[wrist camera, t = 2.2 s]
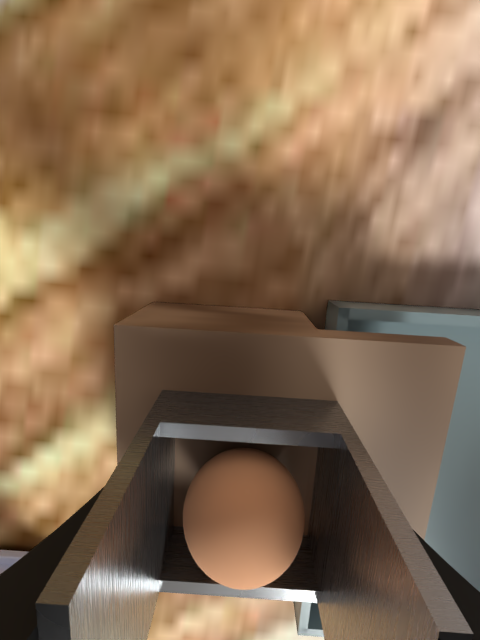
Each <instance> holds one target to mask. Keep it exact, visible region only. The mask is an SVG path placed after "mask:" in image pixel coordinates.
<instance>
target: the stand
mask: <svg viewBox="0 0 480 640" xmlns="http://www.w3.org/2000/svg"><path fill="white" fill-rule="evenodd" d="M465 350H466V346H464V345H462V344H459V343H457V342H455V341H453V340H451V339H448V338H446V337H434V336H418V335H402V334H386V333H370V332H353V331H337V330H321V329H317V328H316V327H315V326H314V325H313V324H312V323H311V321H310V320H309V319H308V318H307V317H306V315H305V314H304V313H303V312H302V311H293V310H276V309H260V308H244V307H227V306H211V305H195V304H179V303H162V302H152V303H150V304H149V305H147V306H145V307H144V308H142V309H140V310H138V311H137V312H135V313H133V314H132V315H130V316H128V317H126V318H125V319H123V320H121V321H119V322H118V323H116V324H114V351H115V389H116V428H117V465H118V463H119V462H120V460H121V458H122V457H123V455H124V453H125V452H126V450H127V448H128V447H129V445H130V443H131V442H132V440H133V438H134V437H135V435H136V433H137V432H138V430H139V428H140V427H141V425H142V423H143V422H144V420H145V418H146V417H147V415H148V413H149V412H150V410H151V408H152V407H153V405H154V403H155V401H156V400H157V398H158V396H159V395H160V393H161V391H162V390H173V391H189V392H205V393H220V394H236V395H252V396H267V397H283V398H299V399H314V400H330V401H338V403H339V404H340V406H341V408H342V409H343V411H344V413H345V414H346V416H347V418H348V420H349V421H350V423H351V425H352V426H353V428H354V430H355V432H356V433H357V435H358V437H359V438H360V440H361V442H362V444H363V445H364V447H365V449H366V450H367V452H368V454H369V456H370V457H371V459H372V461H373V462H374V464H375V466H376V468H377V469H378V471H379V473H380V474H381V476H382V478H383V479H384V481H385V483H386V485H387V486H388V488H389V490H390V491H391V493H392V495H393V497H394V498H395V500H396V502H397V503H398V505H399V507H400V509H401V510H402V512H403V514H404V515H405V517H406V519H407V521H408V522H409V524H410V526H411V527H412V529H413V530H414V531H415V532H416V533H417V534H418V535H419V536H420V537H421V538H422V539H423V540H424V539H425V535H426V530H427V525H428V521H429V516H430V512H431V507H432V502H433V498H434V493H435V488H436V484H437V479H438V475H439V470H440V465H441V461H442V456H443V452H444V447H445V442H446V438H447V433H448V429H449V424H450V419H451V415H452V410H453V406H454V401H455V396H456V392H457V387H458V382H459V378H460V373H461V369H462V364H463V359H464V355H465ZM235 448H252V449H257V450H260V451H263V452H266V453H268V454H270V455H271V456H273V457H274V458H276V459H277V460H278V461H280V462H281V463H282V464H283V465H284V466H285V467H286V468H287V470H288V471H289V472H290V473H291V475H292V476H293V478H294V479H295V481H296V483H297V485H298V488H299V490H300V493H301V496H302V500H303V504H304V512H305V526H304V533H303V535H308V526H309V518H310V510H311V502H312V494H313V486H314V478H315V470H316V462H317V453H318V447H308V446H293V445H277V444H262V443H247V442H231V441H216V440H201V439H185V438H175V472H174V526H180V527H183V507H184V501H185V497H186V494H187V491H188V488H189V486H190V484H191V482H192V480H193V478H194V477H195V475H196V473H197V472H198V471H199V470H200V469H201V467H202V466H203V465H204V464H205V463H206V462H207V461H209V460H210V459H211V458H213V457H214V456H216V455H217V454H219V453H221V452H224V451H227V450H230V449H235Z"/></svg>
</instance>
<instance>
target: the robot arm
mask: <svg viewBox="0 0 480 640" xmlns="http://www.w3.org/2000/svg"><path fill="white" fill-rule="evenodd" d="M104 487H105V486H104ZM104 487H103V488H102V489H101V490H100V491H99V492H98V493H97V494H96V495H95V496H94V497H92V498H91V499H90V500H89V501H88V502H87V503H86V504H85V505H84V506H82V507H81V508H80V509H79V510H78V511H77V512H76V513H75V514H73V515H72V516H71V517H70V518H69V519H68V520H67V521H65V522H64V523H63V524H62V525H61V526H60V527H59V528H57V529H56V530H55V531H54V532H53V533H51V534H50V535H49V536H48V537H47V538H45V539H44V540H43V541H42V542H40V543H39V544H38V545H37V546H35V547H34V548H33V549H32V550H31V551H29V552H27V551H12V550H0V640H39V637H38V626H37V616H36V606H35V603H36V601H37V599H38V598H39V596H40V594H41V593H42V591H43V589H44V588H45V586H46V584H47V583H48V581H49V579H50V577H51V576H52V574H53V572H54V571H55V569H56V567H57V566H58V564H59V562H60V561H61V559H62V557H63V556H64V554H65V552H66V551H67V549H68V547H69V546H70V544H71V542H72V541H73V539H74V537H75V536H76V534H77V532H78V531H79V529H80V527H81V526H82V524H83V522H84V520H85V519H86V517H87V515H88V514H89V512H90V510H91V509H92V507H93V505H94V504H95V502H96V500H97V499H98V497H99V495H100V494H101V492H102V490H103V489H104ZM413 531H414V530H413ZM414 533H415V534H416V536H417V538H418V539H419V541H420V543H421V544H422V546H423V548H424V550H425V551H426V553H427V555H428V556H429V558H430V560H431V562H432V563H433V565H434V567H435V568H436V570H437V572H438V574H439V575H440V577H441V579H442V580H443V582H444V584H445V586H446V587H447V589H448V591H449V592H450V594H451V596H452V598H453V599H454V601H455V603H456V604H457V606H458V608H459V609H460V611H461V613H462V615H463V616H464V618H465V620H466V621H467V623H468V625H469V627H470V628H471V630H472V632H473V633H474V635H473V638H472V640H480V592H479V591H478V590H477V589H476V588H475V587H474V586H472V585H471V584H470V583H469V582H468V581H467V580H466V579H465V578H464V577H462V576H461V575H460V574H459V573H458V572H457V571H456V570H455V569H454V568H453V567H452V566H450V565H449V564H448V563H447V562H446V561H445V560H444V559H443V558H442V557H441V556H440V555H439V554H438V553H437V552H436V551H435V550H434V549H433V548H432V547H430V546H429V545H428V544H427V543H426V542H425V541H424V540H423V539H422V538H421V537H420V536H419V535H418V534H417V533H416V532H415V531H414Z"/></svg>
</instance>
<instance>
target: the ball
mask: <svg viewBox="0 0 480 640" xmlns="http://www.w3.org/2000/svg"><path fill="white" fill-rule="evenodd" d="M304 526H305V512H304V504H303V500H302V496H301V493H300V490H299V488H298V485H297V483H296V481H295V479H294V478H293V476H292V475H291V473H290V472H289V471H288V470H287V468H286V467H285V466H284V465H283V464H282V463H281V462H280V461H278V460H277V459H276V458H274V457H273V456H271V455H270V454H268V453H266V452H263V451H260V450H257V449H252V448H235V449H230V450H227V451H224V452H221V453H219V454H217V455H216V456H214V457H213V458H211V459H210V460H209V461H207V462H206V463H205V464H204V465H203V466H202V467H201V469H200V470H199V471H198V472H197V473H196V475H195V477H194V478H193V480H192V482H191V484H190V486H189V488H188V491H187V494H186V497H185V501H184V507H183V529H184V535H185V540H186V543H187V545H188V548H189V551H190V553H191V555H192V557H193V559H194V560H195V562H196V563H197V565H198V566H199V567H200V569H201V570H202V571H203V572H204V573H205V574H206V575H207V576H209V577H210V578H211V579H212V580H214V581H216V582H217V583H219V584H221V585H224V586H226V587H229V588H233V589H238V590H250V589H256V588H259V587H262V586H265V585H267V584H269V583H271V582H273V581H274V580H276V579H277V578H278V577H280V576H281V575H282V574H283V573H284V572H285V571H286V570H287V569H288V567H289V566H290V565H291V563H292V562H293V560H294V559H295V557H296V555H297V553H298V551H299V548H300V545H301V543H302V538H303V533H304Z"/></svg>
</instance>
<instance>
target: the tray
mask: <svg viewBox="0 0 480 640" xmlns="http://www.w3.org/2000/svg"><path fill="white" fill-rule="evenodd" d="M325 330H337V331H353V332H370V333H386V334H402V335H418V336H434V337H446V338H448V339H451V340H453V341H455V342H457V343H459V344H462V345H464V346H466V350H465V355H464V359H463V364H462V369H461V373H460V378H459V382H458V387H457V392H456V396H455V401H454V406H453V410H452V415H451V419H450V424H449V429H448V433H447V438H446V442H445V447H444V452H443V456H442V461H441V465H440V470H439V475H438V479H437V484H436V488H435V493H434V498H433V502H432V507H431V512H430V516H429V521H428V525H427V530H426V535H425V539H424V541H425V542H426V543H427V544H428V545H429V546H430V547H432V548H433V549H434V550H435V551H436V552H437V553H438V554H439V555H440V556H441V557H442V558H443V559H444V560H445V561H446V562H447V563H448V564H449V565H450V566H452V567H453V568H454V569H455V570H456V571H457V572H458V573H459V574H460V575H461V576H462V577H464V578H465V579H466V580H467V581H468V582H469V583H470V584H471V585H472V586H474V587H475V588H476V589H477V590H478V591H479V592H480V310H479V309H463V308H446V307H430V306H414V305H397V304H381V303H364V302H348V301H332V300H328V305H327V314H326V322H325ZM293 602H294V609H295V617H296V625H297V633H298V635H305V636H319V637H324V633H323V628H322V623H321V618H320V613H319V608H318V603H313V602H299V601H293Z"/></svg>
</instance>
